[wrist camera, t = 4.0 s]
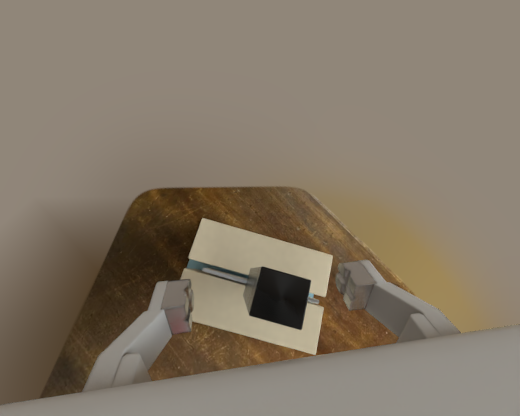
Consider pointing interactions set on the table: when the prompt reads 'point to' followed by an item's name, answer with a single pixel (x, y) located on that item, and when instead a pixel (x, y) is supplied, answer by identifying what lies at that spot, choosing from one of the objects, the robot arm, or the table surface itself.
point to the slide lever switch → (239, 263)
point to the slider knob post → (273, 295)
